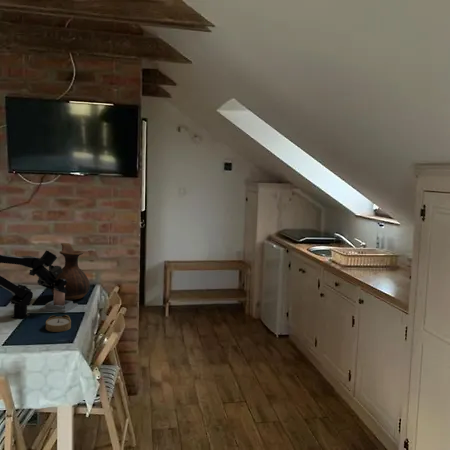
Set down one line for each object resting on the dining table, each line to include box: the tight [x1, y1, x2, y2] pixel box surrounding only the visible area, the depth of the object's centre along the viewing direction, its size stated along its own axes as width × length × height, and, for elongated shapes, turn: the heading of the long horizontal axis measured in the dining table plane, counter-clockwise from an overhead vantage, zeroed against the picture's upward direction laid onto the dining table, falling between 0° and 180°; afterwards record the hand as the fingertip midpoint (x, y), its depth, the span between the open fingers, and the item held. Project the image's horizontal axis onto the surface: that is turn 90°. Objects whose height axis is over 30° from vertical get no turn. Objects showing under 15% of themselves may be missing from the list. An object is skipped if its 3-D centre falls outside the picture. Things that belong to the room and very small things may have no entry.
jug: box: [50, 242, 91, 301], centre depth 287 cm, size 22×22×30 cm
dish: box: [39, 299, 79, 314], centre depth 267 cm, size 14×14×3 cm
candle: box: [53, 289, 66, 306], centre depth 266 cm, size 6×6×14 cm
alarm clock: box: [45, 314, 72, 333], centre depth 236 cm, size 11×5×15 cm
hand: (61, 291), depth 267 cm, fingers open, 7 cm apart
